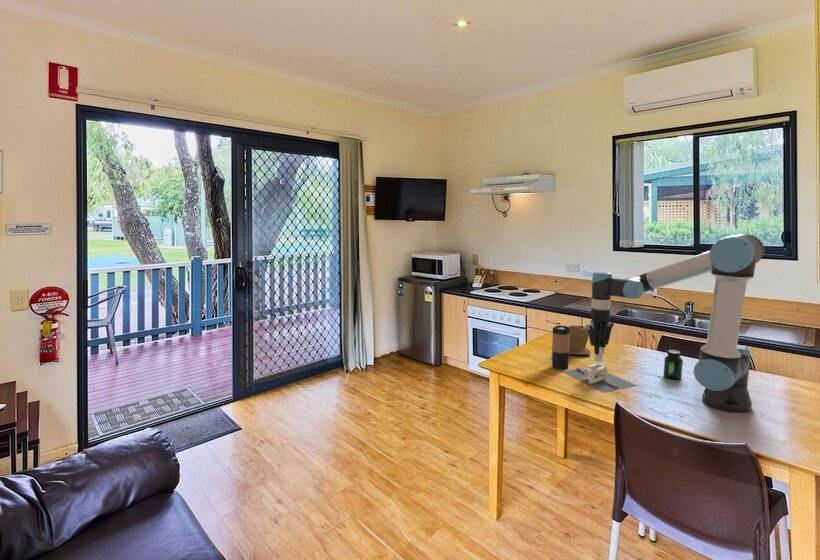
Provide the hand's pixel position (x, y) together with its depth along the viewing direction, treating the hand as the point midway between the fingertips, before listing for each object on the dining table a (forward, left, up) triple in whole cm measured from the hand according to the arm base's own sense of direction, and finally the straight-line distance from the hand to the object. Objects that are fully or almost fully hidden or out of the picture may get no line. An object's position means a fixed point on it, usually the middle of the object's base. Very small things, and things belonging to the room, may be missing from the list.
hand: (598, 360), depth 187 cm
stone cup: (+35, -17, -10) cm, 40 cm away
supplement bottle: (-9, -33, -10) cm, 35 cm away
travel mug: (+20, +4, -10) cm, 22 cm away
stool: (0, -2, -5) cm, 5 cm away
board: (+2, -2, -9) cm, 10 cm away
